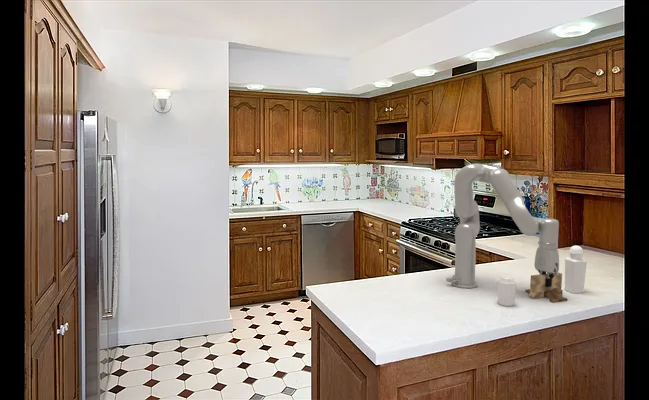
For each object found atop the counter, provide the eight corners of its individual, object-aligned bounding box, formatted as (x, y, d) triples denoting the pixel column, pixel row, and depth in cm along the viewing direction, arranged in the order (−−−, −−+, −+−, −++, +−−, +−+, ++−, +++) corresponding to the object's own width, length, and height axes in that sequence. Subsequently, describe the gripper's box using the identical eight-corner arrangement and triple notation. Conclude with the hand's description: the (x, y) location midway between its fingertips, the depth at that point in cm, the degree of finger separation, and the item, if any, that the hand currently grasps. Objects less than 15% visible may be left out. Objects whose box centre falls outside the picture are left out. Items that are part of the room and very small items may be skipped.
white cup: (495, 299, 195) (496, 277, 194) (514, 301, 193) (515, 279, 192) (497, 305, 188) (497, 283, 187) (516, 307, 186) (518, 284, 185)
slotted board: (533, 298, 196) (534, 276, 195) (529, 296, 199) (530, 275, 197) (560, 294, 202) (562, 273, 201) (557, 293, 204) (558, 272, 203)
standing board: (567, 300, 194) (567, 289, 193) (553, 302, 191) (553, 291, 191) (538, 290, 209) (539, 279, 208) (525, 291, 206) (525, 281, 206)
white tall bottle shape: (585, 293, 204) (588, 246, 202) (572, 294, 203) (575, 247, 201) (575, 288, 210) (577, 243, 208) (562, 289, 209) (565, 244, 207)
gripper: (528, 243, 204) (526, 281, 206) (556, 250, 189) (553, 291, 191) (540, 242, 206) (538, 280, 208) (569, 249, 191) (567, 290, 193)
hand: (546, 285), depth 200 cm, fingers closed on slotted board, 2 cm apart
